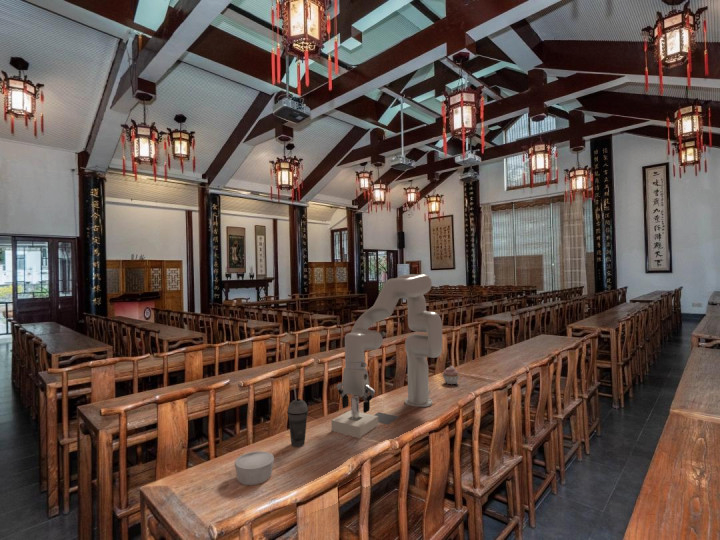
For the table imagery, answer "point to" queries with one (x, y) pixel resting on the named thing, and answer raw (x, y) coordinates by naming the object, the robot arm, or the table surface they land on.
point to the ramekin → (254, 467)
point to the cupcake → (451, 375)
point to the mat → (385, 418)
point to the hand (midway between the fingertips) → (355, 409)
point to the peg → (355, 408)
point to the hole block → (354, 424)
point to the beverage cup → (297, 421)
